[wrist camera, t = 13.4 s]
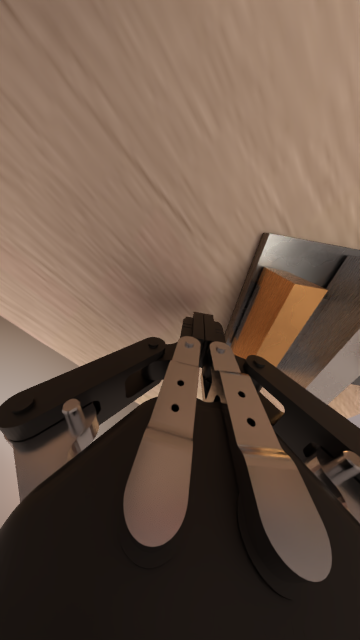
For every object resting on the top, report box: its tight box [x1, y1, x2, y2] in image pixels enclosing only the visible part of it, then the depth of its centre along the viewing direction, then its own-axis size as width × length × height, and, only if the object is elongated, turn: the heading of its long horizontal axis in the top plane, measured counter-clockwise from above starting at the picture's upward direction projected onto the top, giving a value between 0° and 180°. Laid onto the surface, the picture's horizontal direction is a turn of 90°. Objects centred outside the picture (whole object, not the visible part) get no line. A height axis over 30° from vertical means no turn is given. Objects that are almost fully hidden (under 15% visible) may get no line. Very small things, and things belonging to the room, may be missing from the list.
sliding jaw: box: [231, 255, 360, 405], centre depth 14 cm, size 9×13×5 cm
